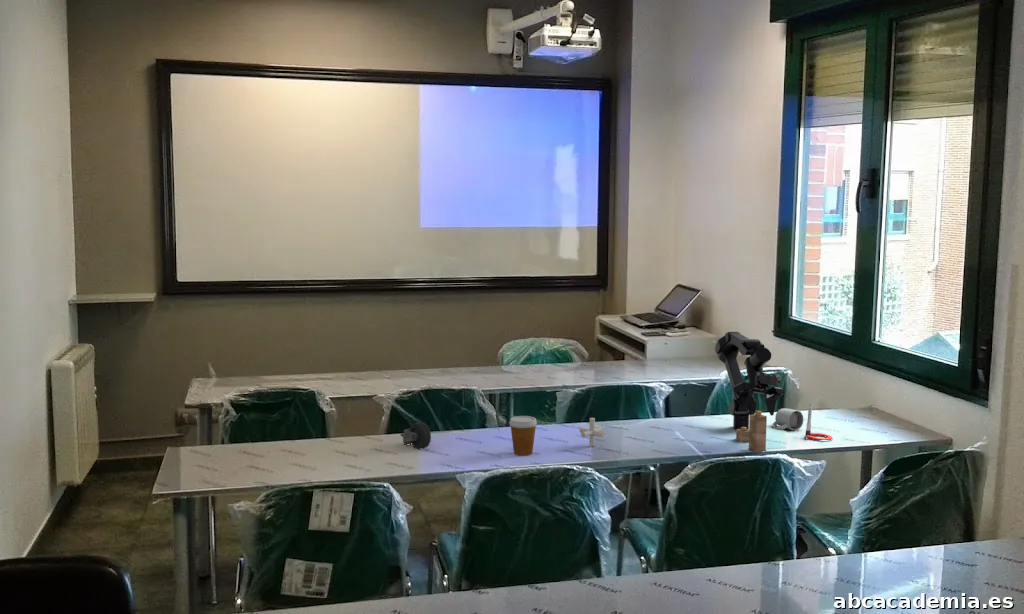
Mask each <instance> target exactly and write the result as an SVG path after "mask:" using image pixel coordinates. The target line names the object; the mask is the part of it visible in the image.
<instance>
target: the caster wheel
mask: <svg viewBox="0 0 1024 614" xmlns="http://www.w3.org/2000/svg"><path fill="white" fill-rule="evenodd" d="M430 430H431V429H430V428H429V426H428V425H427V424H426V423H425V422H423V421H417V422H414V423H412V424H411V425H410V426H409V428H407V429H403V433H402V432H401V433H400V437H402V441H403V445H404V446H405V445H407V444H411V443H412V446H413V447H414V448H415V447H416V448H415V449H418V448H422V449H425V448H428V446H429V445H430V443H431V440H432V435H431V431H430ZM424 447H425V448H424Z"/></svg>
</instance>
